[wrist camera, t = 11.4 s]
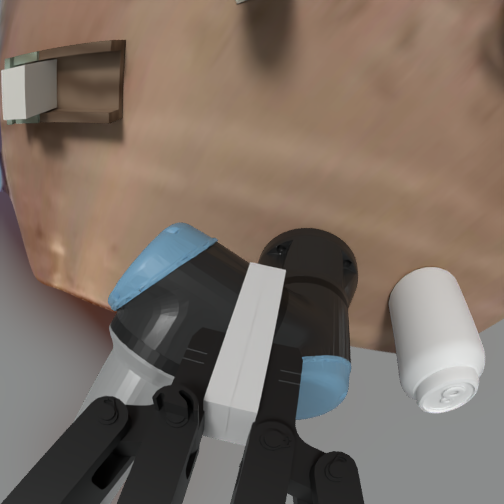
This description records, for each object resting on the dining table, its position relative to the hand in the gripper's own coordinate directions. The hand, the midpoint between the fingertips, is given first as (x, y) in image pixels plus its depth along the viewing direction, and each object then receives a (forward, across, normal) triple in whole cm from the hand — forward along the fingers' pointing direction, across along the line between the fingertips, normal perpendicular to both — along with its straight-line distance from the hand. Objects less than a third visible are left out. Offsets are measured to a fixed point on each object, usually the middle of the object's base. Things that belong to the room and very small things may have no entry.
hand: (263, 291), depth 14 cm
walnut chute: (+29, +36, -5) cm, 47 cm away
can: (+30, -25, +20) cm, 44 cm away
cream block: (+28, +40, -5) cm, 49 cm away
